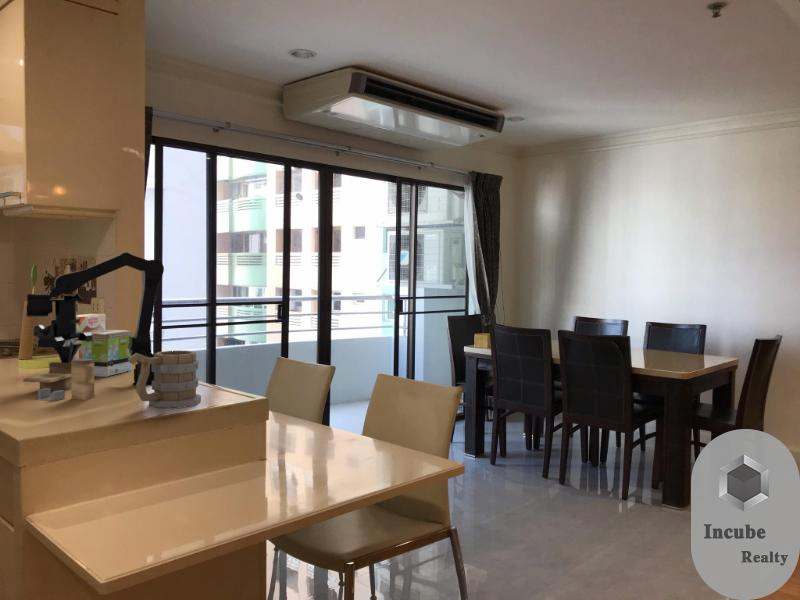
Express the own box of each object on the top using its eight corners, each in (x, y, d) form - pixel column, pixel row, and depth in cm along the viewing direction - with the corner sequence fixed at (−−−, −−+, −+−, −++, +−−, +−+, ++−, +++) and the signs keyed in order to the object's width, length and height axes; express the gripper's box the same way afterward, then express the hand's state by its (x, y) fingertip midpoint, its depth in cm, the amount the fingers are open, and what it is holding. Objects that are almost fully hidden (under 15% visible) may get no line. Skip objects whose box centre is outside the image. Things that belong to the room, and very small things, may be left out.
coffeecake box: (79, 371, 229) (79, 316, 228) (61, 370, 230) (61, 315, 229) (106, 365, 243) (106, 313, 242) (90, 364, 245) (89, 313, 244)
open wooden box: (67, 385, 202) (66, 371, 202) (91, 386, 202) (91, 372, 201) (39, 393, 189) (39, 378, 189) (65, 393, 189) (65, 379, 188)
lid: (52, 374, 195) (52, 361, 195) (77, 375, 194) (77, 362, 194) (23, 381, 182) (23, 368, 182) (49, 382, 181) (49, 369, 181)
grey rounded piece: (53, 398, 182) (53, 387, 182) (70, 401, 179) (70, 389, 179) (31, 402, 176) (31, 390, 176) (48, 405, 173) (48, 393, 173)
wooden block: (81, 399, 181) (81, 358, 180) (94, 400, 180) (94, 359, 180) (71, 402, 177) (71, 360, 176) (84, 403, 176) (84, 361, 176)
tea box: (108, 377, 218) (108, 333, 217) (81, 376, 219) (80, 332, 219) (133, 370, 233) (133, 329, 232) (107, 369, 234) (107, 328, 234)
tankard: (183, 396, 187) (183, 345, 186) (208, 403, 179) (208, 349, 178) (115, 407, 171) (115, 351, 171) (140, 415, 163) (140, 355, 163)
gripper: (59, 313, 205) (60, 362, 205) (19, 317, 186) (20, 372, 187) (93, 314, 204) (93, 363, 204) (55, 318, 185) (56, 373, 186)
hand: (66, 367), depth 195 cm, fingers closed
